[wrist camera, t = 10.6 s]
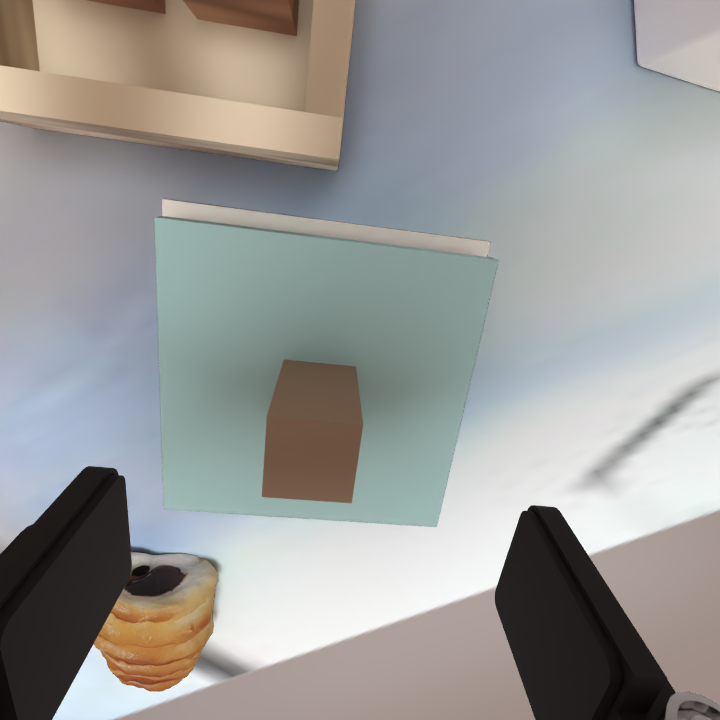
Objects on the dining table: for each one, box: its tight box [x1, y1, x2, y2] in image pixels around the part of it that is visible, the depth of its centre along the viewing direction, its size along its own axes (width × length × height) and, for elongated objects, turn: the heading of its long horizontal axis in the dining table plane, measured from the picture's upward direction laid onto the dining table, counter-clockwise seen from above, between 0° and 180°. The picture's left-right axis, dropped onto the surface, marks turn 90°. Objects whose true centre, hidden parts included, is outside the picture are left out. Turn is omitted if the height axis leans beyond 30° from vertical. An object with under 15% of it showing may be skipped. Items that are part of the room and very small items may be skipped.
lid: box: [154, 216, 498, 527], centre depth 18 cm, size 13×13×8 cm
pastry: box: [94, 552, 218, 691], centre depth 25 cm, size 9×7×4 cm
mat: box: [162, 199, 490, 257], centre depth 21 cm, size 14×14×1 cm
